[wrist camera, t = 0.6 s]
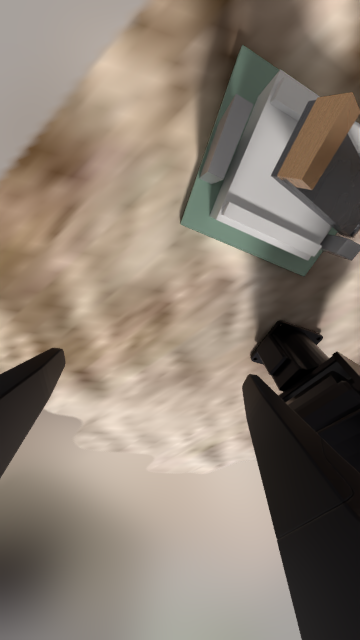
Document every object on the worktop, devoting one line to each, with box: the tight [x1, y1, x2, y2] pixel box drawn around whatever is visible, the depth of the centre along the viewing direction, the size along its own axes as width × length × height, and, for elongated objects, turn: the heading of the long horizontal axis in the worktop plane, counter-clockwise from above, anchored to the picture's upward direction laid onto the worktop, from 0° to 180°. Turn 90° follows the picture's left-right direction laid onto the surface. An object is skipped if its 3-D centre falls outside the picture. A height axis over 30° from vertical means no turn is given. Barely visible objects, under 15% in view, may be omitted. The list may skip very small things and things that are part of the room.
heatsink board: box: [180, 45, 360, 276], centre depth 13 cm, size 13×10×5 cm
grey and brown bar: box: [271, 92, 360, 238], centre depth 10 cm, size 10×2×2 cm, turn 69°
